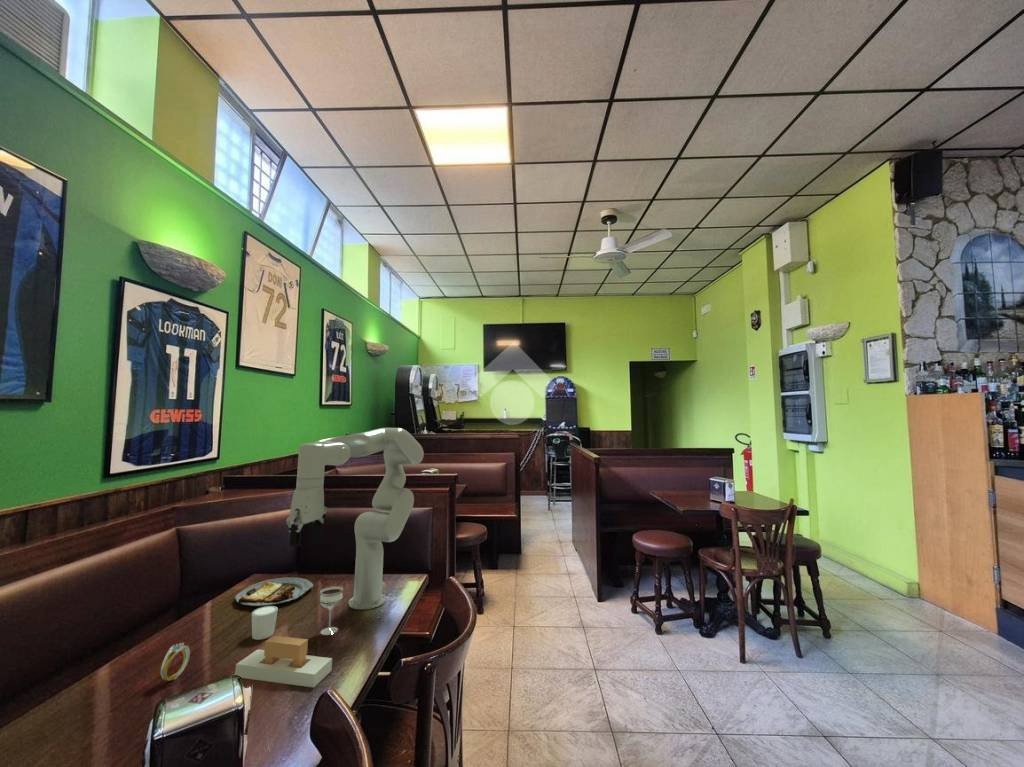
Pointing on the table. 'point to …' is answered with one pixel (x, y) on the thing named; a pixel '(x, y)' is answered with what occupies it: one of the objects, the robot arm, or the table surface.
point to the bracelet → (166, 662)
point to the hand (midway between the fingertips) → (306, 541)
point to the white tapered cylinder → (263, 622)
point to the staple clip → (286, 650)
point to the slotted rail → (284, 670)
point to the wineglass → (330, 604)
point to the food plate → (273, 591)
